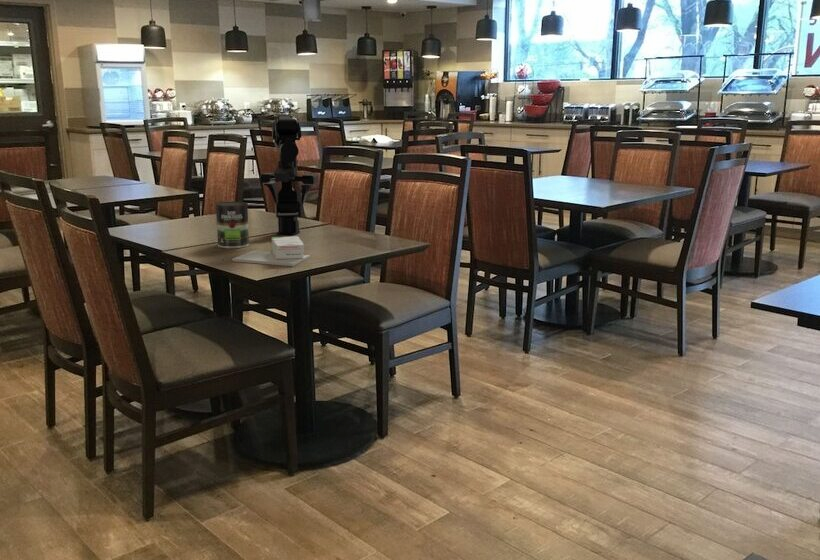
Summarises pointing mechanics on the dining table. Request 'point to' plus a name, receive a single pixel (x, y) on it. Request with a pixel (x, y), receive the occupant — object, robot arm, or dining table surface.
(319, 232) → the dining table surface
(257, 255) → the mat
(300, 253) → the ink box
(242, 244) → the coffee can
